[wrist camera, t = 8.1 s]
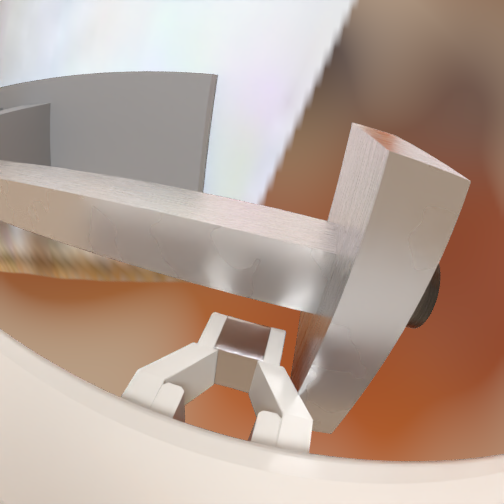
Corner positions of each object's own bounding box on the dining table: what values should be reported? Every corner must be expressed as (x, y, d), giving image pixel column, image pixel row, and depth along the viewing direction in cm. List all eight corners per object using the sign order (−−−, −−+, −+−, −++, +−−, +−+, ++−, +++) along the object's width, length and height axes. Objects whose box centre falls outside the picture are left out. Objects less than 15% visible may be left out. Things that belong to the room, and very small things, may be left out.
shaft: (-37, 108, 12) (-101, 131, 7) (435, 149, 9) (528, 209, 4) (-28, 207, 16) (-82, 243, 11) (368, 322, 13) (376, 438, 8)
